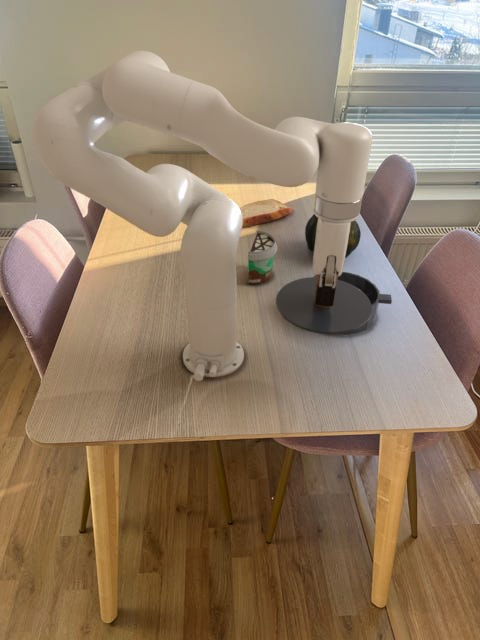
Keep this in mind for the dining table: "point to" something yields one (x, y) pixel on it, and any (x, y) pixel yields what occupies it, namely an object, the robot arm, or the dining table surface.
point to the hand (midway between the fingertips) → (324, 297)
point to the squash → (352, 240)
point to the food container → (261, 258)
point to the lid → (323, 307)
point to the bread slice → (263, 212)
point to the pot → (369, 291)
